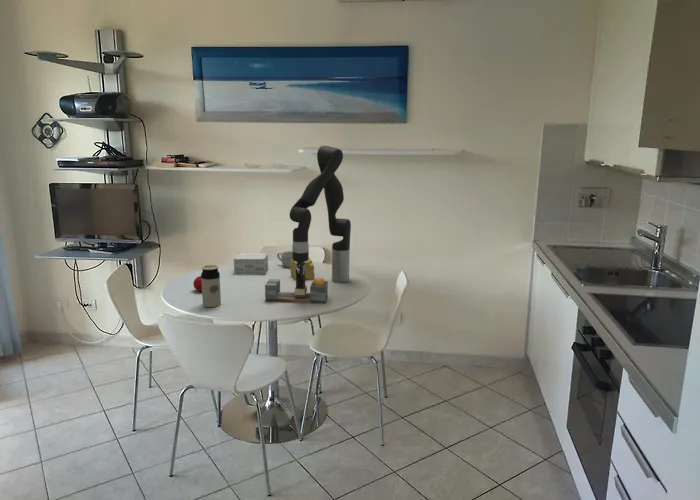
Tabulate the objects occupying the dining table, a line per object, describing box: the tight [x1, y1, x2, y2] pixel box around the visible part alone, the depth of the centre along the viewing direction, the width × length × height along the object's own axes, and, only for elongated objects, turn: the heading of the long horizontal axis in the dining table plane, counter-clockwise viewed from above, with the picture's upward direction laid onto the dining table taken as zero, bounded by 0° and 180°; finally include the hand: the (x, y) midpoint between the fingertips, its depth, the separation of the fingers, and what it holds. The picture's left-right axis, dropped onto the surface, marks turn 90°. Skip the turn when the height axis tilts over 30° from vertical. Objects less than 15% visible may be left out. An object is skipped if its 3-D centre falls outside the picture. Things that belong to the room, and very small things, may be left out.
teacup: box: [276, 250, 292, 269], centre depth 301 cm, size 14×11×8 cm
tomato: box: [193, 275, 202, 293], centre depth 254 cm, size 9×9×8 cm
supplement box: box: [233, 252, 269, 276], centre depth 288 cm, size 17×13×9 cm
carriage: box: [293, 275, 308, 295], centre depth 242 cm, size 7×5×8 cm
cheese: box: [289, 257, 316, 281], centre depth 278 cm, size 10×11×10 cm
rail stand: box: [264, 278, 329, 305], centre depth 243 cm, size 10×28×8 cm, turn 86°
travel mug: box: [200, 264, 222, 308], centre depth 233 cm, size 8×8×18 cm
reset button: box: [313, 277, 325, 286], centre depth 242 cm, size 5×5×4 cm
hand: (300, 285), depth 242 cm, fingers closed on carriage, 3 cm apart
